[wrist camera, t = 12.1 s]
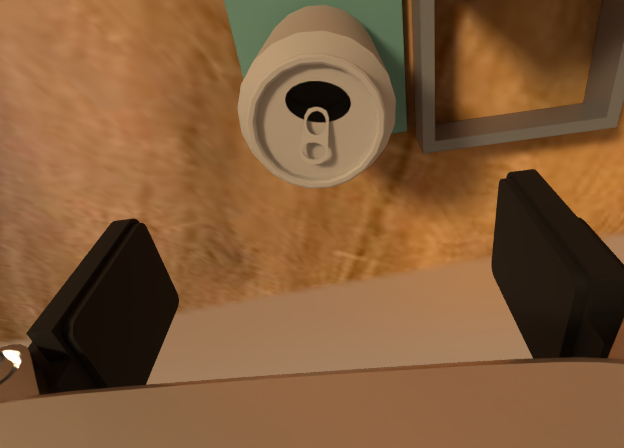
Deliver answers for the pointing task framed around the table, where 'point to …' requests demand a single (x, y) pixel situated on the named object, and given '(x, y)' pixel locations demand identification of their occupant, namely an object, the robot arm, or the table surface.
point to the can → (317, 99)
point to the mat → (359, 3)
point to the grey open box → (530, 124)
